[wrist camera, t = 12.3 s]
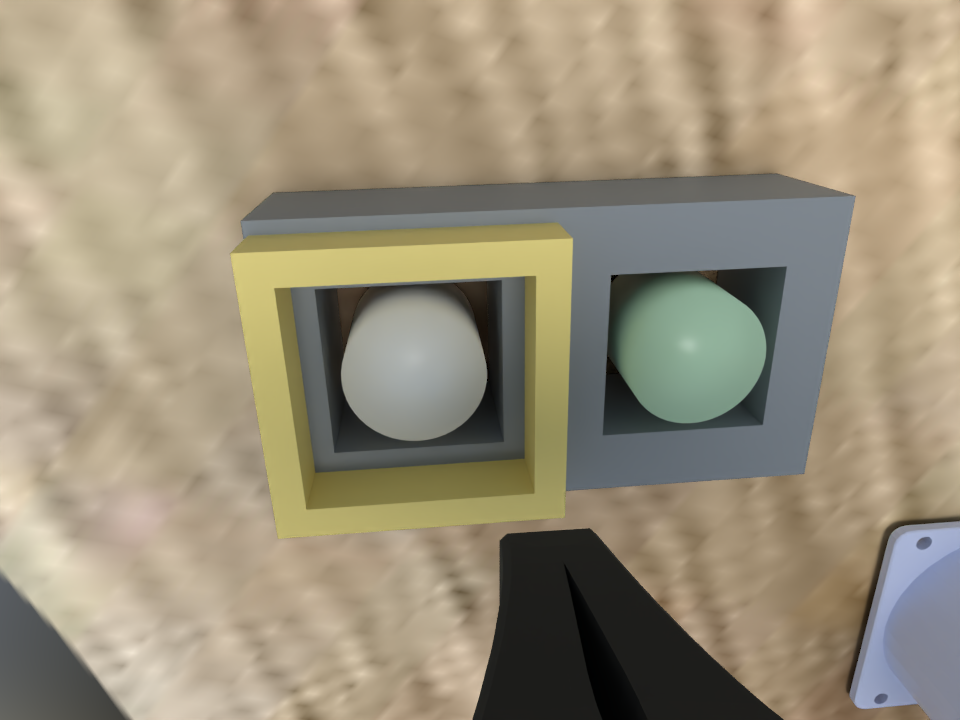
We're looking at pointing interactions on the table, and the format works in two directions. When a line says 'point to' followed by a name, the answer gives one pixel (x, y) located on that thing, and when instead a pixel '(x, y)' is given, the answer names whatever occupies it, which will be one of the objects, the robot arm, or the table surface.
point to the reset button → (414, 361)
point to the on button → (683, 344)
